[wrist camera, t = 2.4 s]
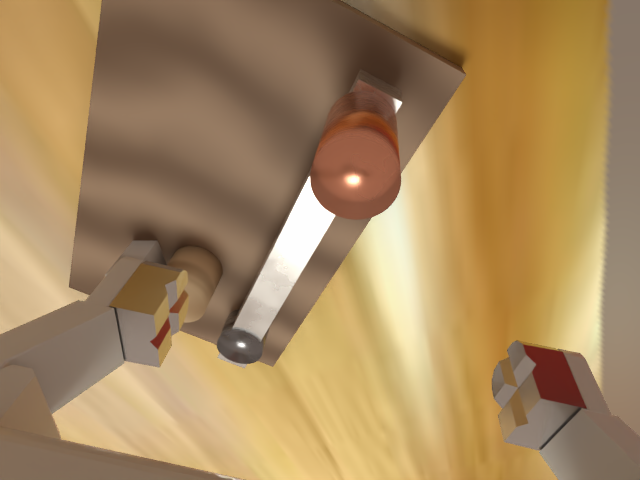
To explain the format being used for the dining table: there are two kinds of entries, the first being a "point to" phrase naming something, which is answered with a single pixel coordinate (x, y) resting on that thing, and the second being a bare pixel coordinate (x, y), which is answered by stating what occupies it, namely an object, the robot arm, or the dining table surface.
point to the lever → (323, 205)
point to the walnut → (198, 277)
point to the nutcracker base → (231, 136)
